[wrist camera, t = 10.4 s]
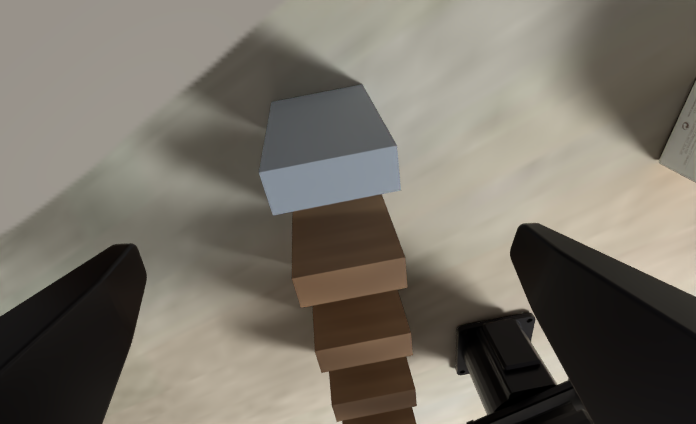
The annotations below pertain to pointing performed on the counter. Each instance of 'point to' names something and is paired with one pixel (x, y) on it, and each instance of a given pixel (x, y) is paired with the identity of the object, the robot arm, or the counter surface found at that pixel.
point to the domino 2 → (345, 251)
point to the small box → (683, 141)
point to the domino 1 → (326, 151)
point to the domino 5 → (386, 418)
